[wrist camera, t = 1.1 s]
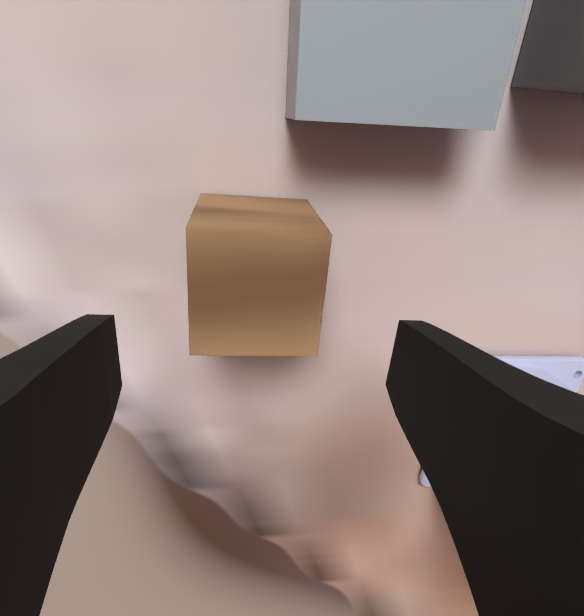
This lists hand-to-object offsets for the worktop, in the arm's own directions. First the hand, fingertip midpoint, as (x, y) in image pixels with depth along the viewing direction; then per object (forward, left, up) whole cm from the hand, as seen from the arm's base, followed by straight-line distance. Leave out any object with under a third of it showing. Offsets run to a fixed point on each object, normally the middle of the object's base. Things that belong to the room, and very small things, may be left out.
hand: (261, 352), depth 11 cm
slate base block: (+9, -5, -9) cm, 14 cm away
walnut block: (0, 0, -9) cm, 9 cm away
